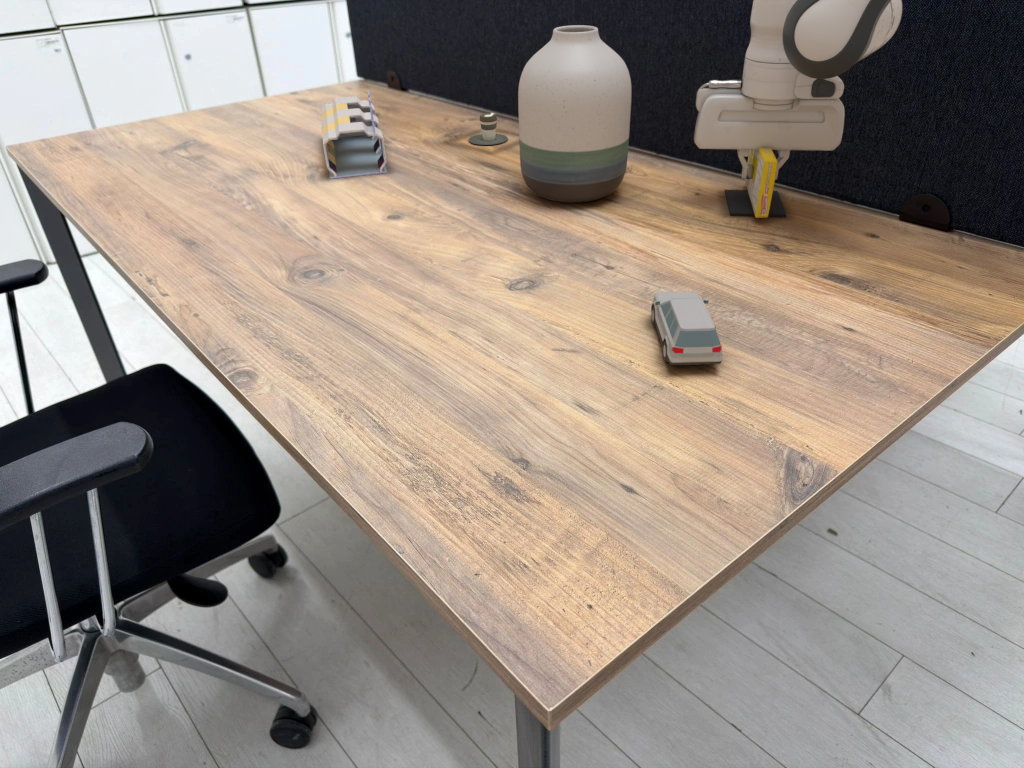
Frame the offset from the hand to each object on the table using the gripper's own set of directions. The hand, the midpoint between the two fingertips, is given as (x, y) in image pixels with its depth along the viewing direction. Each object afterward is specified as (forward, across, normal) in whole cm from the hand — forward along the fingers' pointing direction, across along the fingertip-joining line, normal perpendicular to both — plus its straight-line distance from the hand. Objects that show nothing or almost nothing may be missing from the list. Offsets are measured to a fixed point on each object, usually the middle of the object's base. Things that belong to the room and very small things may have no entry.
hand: (759, 178), depth 108 cm
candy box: (+3, 0, 0) cm, 3 cm away
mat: (+4, 0, 0) cm, 4 cm away
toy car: (+4, -12, -42) cm, 44 cm away
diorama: (+4, -71, +20) cm, 74 cm away
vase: (+4, -28, +3) cm, 29 cm away
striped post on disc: (+4, -47, +31) cm, 57 cm away
